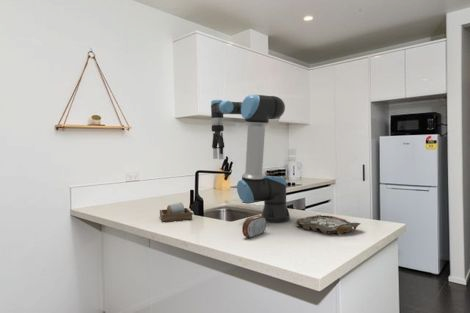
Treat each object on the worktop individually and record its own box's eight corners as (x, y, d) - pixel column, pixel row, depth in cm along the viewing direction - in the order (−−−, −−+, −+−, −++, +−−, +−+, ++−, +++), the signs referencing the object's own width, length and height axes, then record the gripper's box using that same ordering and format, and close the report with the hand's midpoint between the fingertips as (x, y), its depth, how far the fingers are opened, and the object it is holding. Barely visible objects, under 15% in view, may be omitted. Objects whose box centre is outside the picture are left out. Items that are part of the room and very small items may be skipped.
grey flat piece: (285, 227, 161) (285, 216, 161) (315, 220, 174) (315, 210, 174) (336, 240, 137) (336, 227, 137) (367, 231, 150) (366, 219, 149)
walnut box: (192, 220, 179) (192, 212, 179) (162, 222, 174) (162, 215, 174) (187, 214, 194) (187, 207, 194) (160, 216, 189) (159, 209, 189)
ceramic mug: (166, 216, 185) (166, 203, 185) (180, 214, 189) (179, 201, 189) (172, 220, 176) (172, 206, 176) (187, 218, 180) (187, 204, 180)
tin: (262, 231, 152) (261, 213, 152) (267, 232, 150) (267, 214, 150) (241, 239, 140) (241, 219, 140) (247, 240, 138) (247, 220, 138)
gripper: (229, 123, 196) (229, 159, 197) (218, 126, 220) (218, 158, 221) (216, 123, 194) (217, 159, 195) (207, 126, 218) (207, 158, 218)
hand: (218, 159), depth 208 cm, fingers open, 13 cm apart
